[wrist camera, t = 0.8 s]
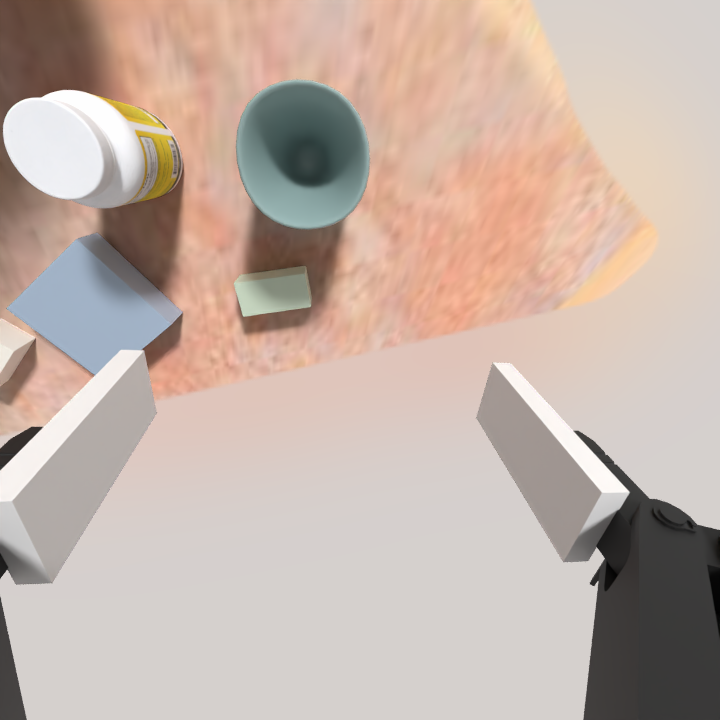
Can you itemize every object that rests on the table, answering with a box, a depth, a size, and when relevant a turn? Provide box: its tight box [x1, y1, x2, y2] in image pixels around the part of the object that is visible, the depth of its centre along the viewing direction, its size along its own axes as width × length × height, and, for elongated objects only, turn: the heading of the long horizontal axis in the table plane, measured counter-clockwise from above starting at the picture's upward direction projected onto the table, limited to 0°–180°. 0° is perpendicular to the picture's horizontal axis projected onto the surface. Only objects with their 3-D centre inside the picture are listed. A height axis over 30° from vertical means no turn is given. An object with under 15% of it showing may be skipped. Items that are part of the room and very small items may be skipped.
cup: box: [236, 79, 370, 230], centre depth 26 cm, size 8×8×10 cm
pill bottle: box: [3, 90, 183, 208], centre depth 24 cm, size 6×6×11 cm
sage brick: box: [234, 266, 312, 317], centre depth 34 cm, size 6×3×3 cm, turn 97°
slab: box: [6, 233, 183, 375], centre depth 33 cm, size 9×9×3 cm
